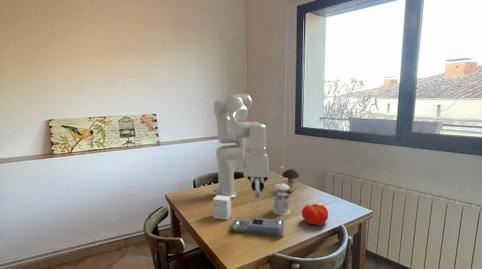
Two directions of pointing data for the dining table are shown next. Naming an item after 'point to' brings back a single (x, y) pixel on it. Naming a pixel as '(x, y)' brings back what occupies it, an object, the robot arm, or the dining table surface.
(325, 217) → the tomato
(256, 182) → the steel pin
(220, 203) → the small box
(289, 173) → the decorative mushroom
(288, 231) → the dining table surface
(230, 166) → the robot arm
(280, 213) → the french press
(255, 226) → the plate with square hole
